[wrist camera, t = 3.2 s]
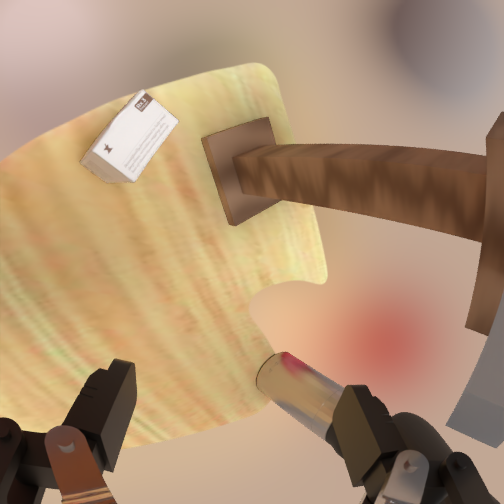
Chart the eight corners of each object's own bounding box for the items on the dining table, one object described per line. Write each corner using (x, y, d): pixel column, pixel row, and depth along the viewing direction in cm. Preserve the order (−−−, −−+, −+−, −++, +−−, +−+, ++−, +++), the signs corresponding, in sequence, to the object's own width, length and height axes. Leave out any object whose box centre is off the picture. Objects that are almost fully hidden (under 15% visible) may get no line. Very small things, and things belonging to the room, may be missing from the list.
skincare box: (108, 184, 29) (136, 189, 20) (76, 161, 26) (88, 153, 17) (140, 139, 30) (185, 123, 21) (111, 115, 27) (142, 86, 18)
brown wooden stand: (281, 195, 44) (515, 244, 19) (213, 233, 39) (489, 336, 14) (261, 117, 39) (522, 114, 14) (183, 145, 33) (522, 143, 8)
